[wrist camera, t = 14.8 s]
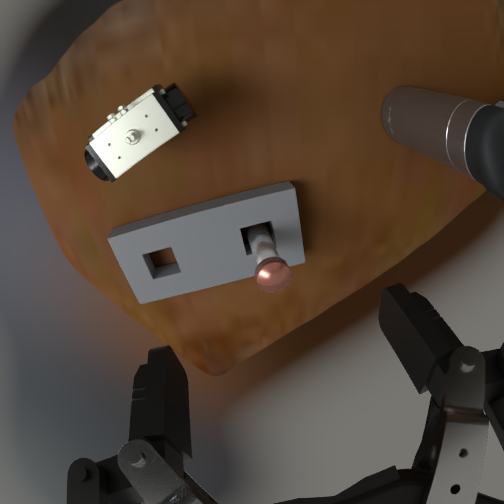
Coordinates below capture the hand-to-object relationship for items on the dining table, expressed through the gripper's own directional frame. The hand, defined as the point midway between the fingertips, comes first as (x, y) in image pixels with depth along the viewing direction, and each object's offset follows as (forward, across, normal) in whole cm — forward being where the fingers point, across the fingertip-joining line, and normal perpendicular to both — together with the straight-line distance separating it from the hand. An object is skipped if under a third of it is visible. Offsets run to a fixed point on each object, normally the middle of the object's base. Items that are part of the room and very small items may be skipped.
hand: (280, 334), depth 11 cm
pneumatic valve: (+32, +8, -6) cm, 34 cm away
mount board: (+32, +5, +13) cm, 35 cm away
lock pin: (+32, -2, +13) cm, 35 cm away
